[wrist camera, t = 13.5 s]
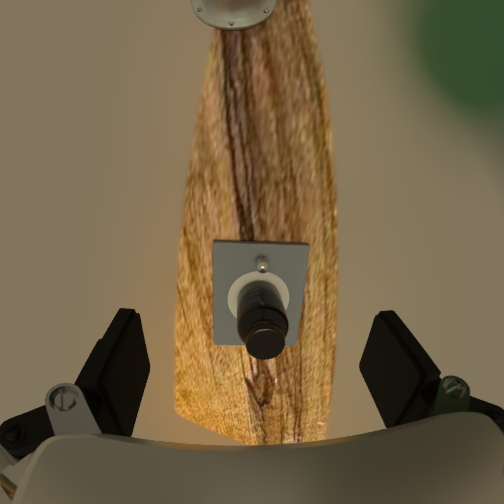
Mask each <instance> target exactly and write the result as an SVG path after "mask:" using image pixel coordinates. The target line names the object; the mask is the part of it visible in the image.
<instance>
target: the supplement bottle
mask: <svg viewBox="0 0 504 504" xmlns="http://www.w3.org/2000/svg"><path fill="white" fill-rule="evenodd" d="M288 330H289V322H288V318H287V315H286V311H285V308H284V305H283V301H282V298H281V295H280V293H279V291H278V289H277V288H276V287H275V286H274V285H273V284H271V283H269V282H266V281H253V282H250V283H248V284H247V285H245V286H244V287H243V288H242V289H241V290H240V292H239V294H238V297H237V332H238V335H239V337H240V339H241V340H242V342H243V343H245V344H246V348H247V351H248V353H249V354H251V356H253V357H255V358H257V359H263V360H265V359H272V358H274V357H276V356H278V355H279V354H280V353H281V352H282V351H283V349H284V346H285V337H286V336H287V333H288Z"/></svg>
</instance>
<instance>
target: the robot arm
mask: <svg viewBox="0 0 504 504" xmlns="http://www.w3.org/2000/svg"><path fill="white" fill-rule="evenodd" d="M276 2H277V0H191V4H192V8H193V10H194V13H195V14H196V16H197V17H198V18H199V19H200V20H201V21H202V22H204V23H205V24H207V25H209V26H211V27H214V28H217V29H223V30H243V29H247V28H251V27H254V26H256V25H258V24H260V23H262V22H264V21H265V20H266V19H267V18H268V17H269V16H270V15H271V14H272V13H273V11H274V9H275V6H276ZM199 11H201V12H199ZM230 25H233V26H230ZM359 368H360V372H361V374H362V376H363V378H364V380H365V382H366V384H367V386H368V389H369V391H370V393H371V395H372V397H373V399H374V402H375V404H376V406H377V408H378V411H379V413H380V415H381V417H382V419H383V422H384V424H385V426H386V428H387V429H382V430H379V431H374V432H369V433H364V434H358V435H353V436H347V437H341V438H335V439H328V440H320V441H312V442H303V443H291V444H277V445H252V446H223V445H198V444H184V443H174V442H164V441H154V440H147V439H140V438H133V437H131V435H132V432H133V428H134V424H135V421H136V417H137V414H138V410H139V407H140V403H141V400H142V396H143V393H144V389H145V386H146V383H147V379H148V376H149V373H150V362H149V358H148V353H147V349H146V344H145V339H144V334H143V330H142V323H141V318H140V314H139V313H136V312H135V310H134V309H126V308H120V309H119V311H118V312H117V314H116V315H115V317H114V319H113V320H112V322H111V324H110V326H109V327H108V329H107V331H106V333H105V334H104V336H103V338H102V339H99V340H98V341H97V343H96V345H95V347H94V348H93V350H92V352H91V354H90V356H89V357H88V359H87V361H86V363H85V365H84V366H83V368H82V370H81V372H80V374H79V376H78V378H77V380H76V382H75V384H70V383H61V384H58V385H56V386H53V387H52V388H51V389H50V390H49V391H48V393H47V394H46V397H45V405H44V406H41V407H39V408H36V409H34V410H31V411H29V412H26V413H23V414H21V415H18V416H16V417H13V418H10V419H8V420H6V421H4V422H3V423H2V424H1V426H0V504H504V410H503V409H502V408H501V407H499V406H497V405H494V404H491V403H488V402H486V401H483V400H480V399H477V398H475V397H472V396H470V388H469V386H468V384H467V383H466V382H465V381H464V380H463V379H461V378H459V377H457V376H451V375H450V376H446V377H444V378H443V379H441V378H440V377H439V375H440V374H441V372H440V370H439V369H438V368H437V366H436V365H435V363H434V362H433V361H432V359H431V358H430V357H429V355H428V354H427V353H426V351H425V350H424V349H423V347H422V346H421V345H420V343H419V342H418V341H417V339H416V338H415V337H414V336H413V334H412V333H411V332H410V330H409V329H408V328H407V327H406V325H405V324H404V323H403V321H402V320H401V319H400V318H399V317H398V315H397V314H396V313H395V312H394V311H392V310H389V311H380V312H379V314H378V315H376V316H375V318H374V321H373V325H372V328H371V331H370V334H369V337H368V340H367V343H366V346H365V349H364V352H363V355H362V358H361V361H360V364H359Z"/></svg>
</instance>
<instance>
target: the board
mask: <svg viewBox="0 0 504 504" xmlns="http://www.w3.org/2000/svg"><path fill="white" fill-rule="evenodd" d="M309 247H310V245H309V244H308V243H289V242H260V241H229V240H214V242H213V314H214V345H246V344H245V343H243V342H242V340H241V339H240V337H239V335H238V332H237V297H238V294H239V292H240V290H241V289H242V288H243V287H244V286H245V285H247V284H248V283H250V282H253V281H266V282H269V283H271V284H273V285H274V286H275V287H276V288H277V289H278V291H279V293H280V295H281V298H282V301H283V305H284V308H285V311H286V315H287V318H288V322H289V330H288V333H287V336H286V337H285V345H296V341H297V334H298V328H299V322H300V315H301V308H302V301H303V294H304V287H305V279H306V272H307V264H308V255H309Z"/></svg>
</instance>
